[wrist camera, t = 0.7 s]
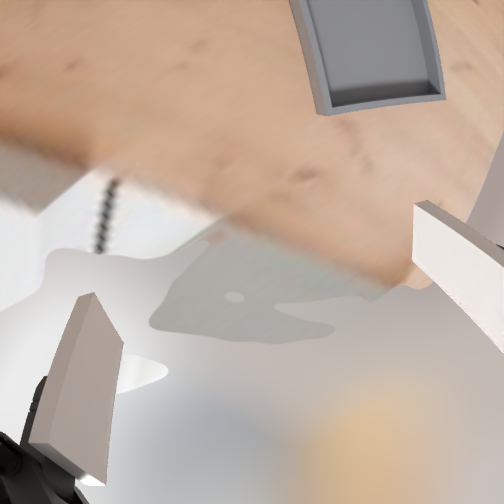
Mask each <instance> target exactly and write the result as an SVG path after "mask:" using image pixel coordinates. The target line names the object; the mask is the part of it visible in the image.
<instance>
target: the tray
mask: <svg viewBox="0 0 504 504" xmlns="http://www.w3.org/2000/svg"><path fill="white" fill-rule="evenodd" d="M289 3H290V6H291V10H292V13H293V17H294V20H295V24H296V28H297V31H298V35H299V39H300V43H301V47H302V51H303V55H304V59H305V63H306V67H307V71H308V75H309V80H310V84H311V89H312V93H313V98H314V102H315V107H316V112H317V114H319V115H324V116H330V115H336V114H341V113H347V112H353V111H359V110H365V109H371V108H378V107H385V106H393V105H401V104H409V103H418V102H428V101H439V100H446V95H445V87H444V80H443V73H442V67H441V61H440V55H439V50H438V45H437V40H436V35H435V31H434V27H433V22H432V18H431V14H430V10H429V7H428V3H427V0H289Z"/></svg>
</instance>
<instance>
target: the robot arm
mask: <svg viewBox="0 0 504 504" xmlns="http://www.w3.org/2000/svg"><path fill="white" fill-rule="evenodd" d="M412 261H413V262H414V263H415V264H416V265H418V266H419V267H420V268H421V269H422V270H423V271H424V272H425V273H426V274H427V275H428V276H429V277H430V278H431V279H432V280H433V281H434V282H436V283H437V284H438V285H439V286H440V287H441V288H442V289H443V290H444V291H445V292H446V293H447V294H448V295H449V296H450V297H451V298H452V299H453V300H454V301H455V302H456V303H457V304H458V305H459V306H460V307H461V308H462V309H463V310H464V311H465V312H466V313H467V314H468V315H469V316H470V318H471V319H472V320H473V321H474V322H475V323H476V324H477V325H478V326H479V327H480V328H481V329H482V330H483V331H484V332H485V334H486V335H487V336H488V337H489V338H490V339H491V340H492V341H493V342H494V343H495V345H496V346H497V347H498V348H499V349H500V350H501V351H502V352H503V354H504V247H501V246H499V245H497V244H494V243H493V242H492V241H490V240H488V239H487V238H486V237H484V236H483V235H481V234H480V233H479V232H477V231H476V230H474V229H473V228H471V227H470V226H468V225H467V224H465V223H463V222H462V221H460V220H459V219H457V218H456V217H454V216H453V215H451V214H449V213H448V212H446V211H445V210H443V209H441V208H440V207H438V206H436V205H435V204H433V203H431V202H430V201H428V200H426V201H422V202H419V203H415V204H414V219H413V248H412ZM123 344H124V342H123V341H122V339H121V338H120V336H119V334H118V333H117V331H116V329H115V328H114V326H113V324H112V323H111V321H110V320H109V318H108V316H107V314H106V312H105V311H104V309H103V307H102V305H101V304H100V302H99V300H98V299H97V296H96V295H95V293H90V294H87V295H83V296H80V297H78V299H77V302H76V304H75V306H74V309H73V311H72V313H71V316H70V318H69V320H68V323H67V325H66V328H65V330H64V333H63V335H62V338H61V341H60V343H59V346H58V348H57V351H56V354H55V357H54V359H53V362H52V365H51V368H50V371H49V374H48V376H44V377H43V379H42V380H41V382H40V383H39V385H38V386H37V388H36V390H35V393H34V397H33V402H32V403H31V406H30V409H29V410H30V412H28V416H27V419H26V423H25V426H24V430H23V433H22V437H21V441H20V445H18V444H17V443H15V442H14V441H13V440H12V439H11V438H10V437H8V436H7V435H6V434H4V433H3V432H0V504H89V503H88V501H87V500H86V499H85V497H84V495H83V494H82V493H81V491H80V490H79V489H78V488H77V487H76V486H75V478H76V479H78V480H79V481H81V482H82V483H84V484H85V485H98V486H106V478H107V464H108V452H109V441H110V432H111V422H112V415H113V406H114V399H115V393H116V386H117V379H118V373H119V367H120V361H121V355H122V349H123Z"/></svg>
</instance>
